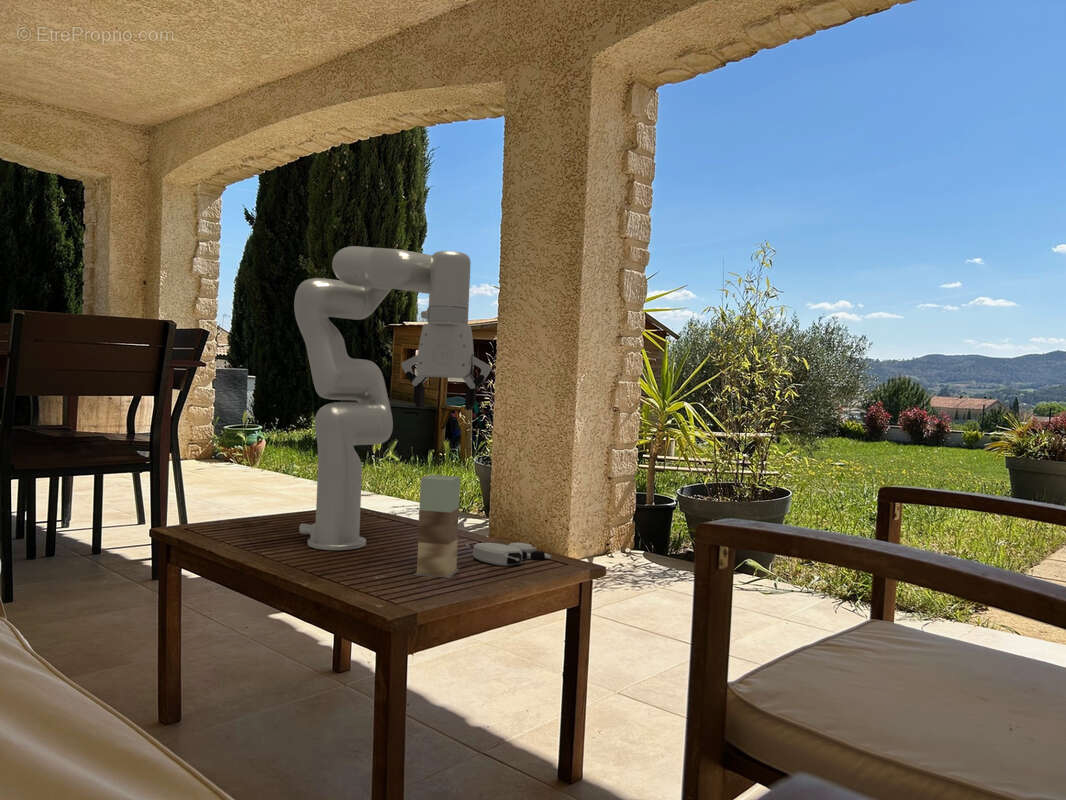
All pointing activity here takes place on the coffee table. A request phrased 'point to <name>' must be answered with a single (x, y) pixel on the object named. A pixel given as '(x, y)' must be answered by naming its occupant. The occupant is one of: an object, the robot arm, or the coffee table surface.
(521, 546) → the robot toy
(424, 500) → the sage block
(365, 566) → the coffee table surface
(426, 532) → the walnut block
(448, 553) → the oak block
